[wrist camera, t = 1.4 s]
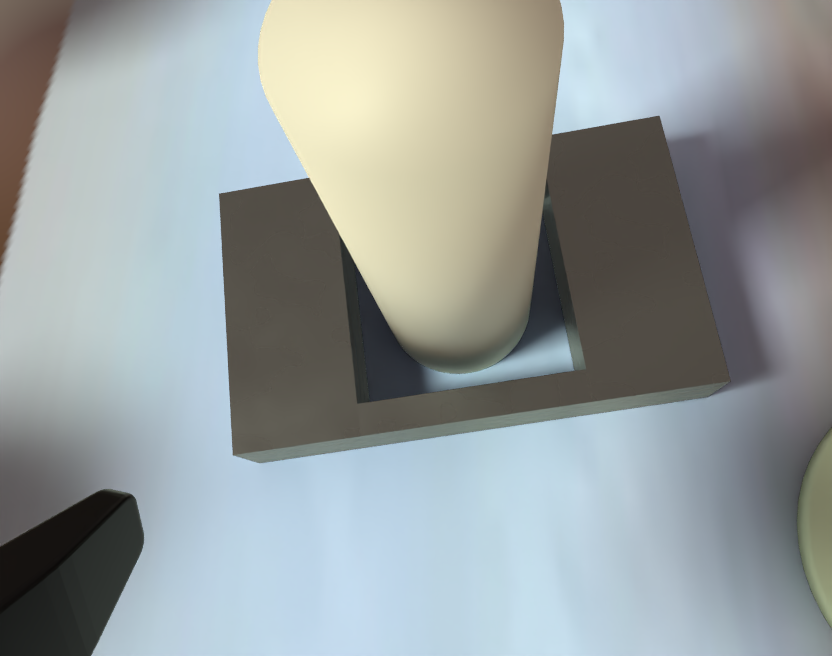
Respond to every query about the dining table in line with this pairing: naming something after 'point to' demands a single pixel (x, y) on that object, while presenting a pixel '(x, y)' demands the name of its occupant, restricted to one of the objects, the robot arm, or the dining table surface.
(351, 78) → the cream round peg
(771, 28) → the dining table surface
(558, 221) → the dark grey peg holder
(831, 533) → the sage mat
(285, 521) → the dining table surface
